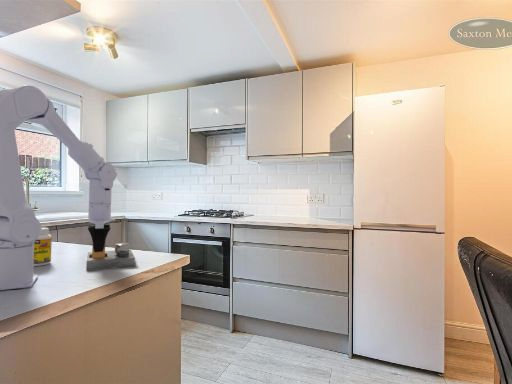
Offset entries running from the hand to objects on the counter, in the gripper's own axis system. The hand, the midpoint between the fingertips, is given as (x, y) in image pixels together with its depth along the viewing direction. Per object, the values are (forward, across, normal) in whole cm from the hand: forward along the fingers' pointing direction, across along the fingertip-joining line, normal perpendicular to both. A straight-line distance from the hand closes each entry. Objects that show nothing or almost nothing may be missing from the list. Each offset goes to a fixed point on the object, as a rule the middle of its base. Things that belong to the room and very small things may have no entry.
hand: (98, 250), depth 84 cm
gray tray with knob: (+4, 0, -3) cm, 5 cm away
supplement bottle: (+4, +6, +15) cm, 17 cm away
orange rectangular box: (+4, 0, 0) cm, 4 cm away
